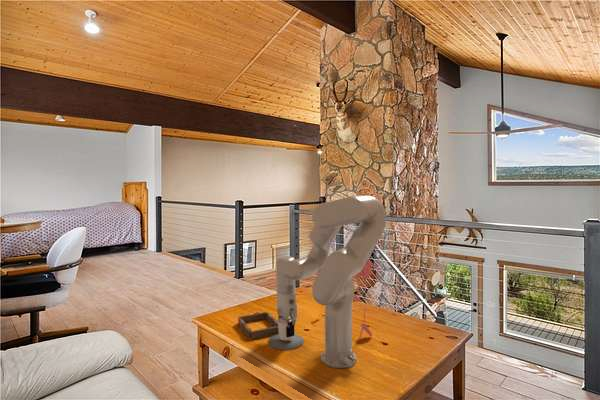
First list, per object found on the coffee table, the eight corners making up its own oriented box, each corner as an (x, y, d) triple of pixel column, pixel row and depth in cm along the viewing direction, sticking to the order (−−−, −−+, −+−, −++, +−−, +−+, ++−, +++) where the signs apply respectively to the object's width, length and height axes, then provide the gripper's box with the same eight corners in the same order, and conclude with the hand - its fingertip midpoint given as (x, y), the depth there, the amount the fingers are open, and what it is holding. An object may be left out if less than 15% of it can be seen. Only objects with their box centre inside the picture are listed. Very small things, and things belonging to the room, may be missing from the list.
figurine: (375, 348, 128) (376, 256, 127) (326, 327, 147) (327, 247, 147) (397, 337, 138) (399, 252, 138) (349, 319, 158) (350, 244, 157)
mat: (309, 345, 131) (309, 344, 131) (276, 353, 125) (276, 352, 125) (294, 331, 143) (294, 330, 143) (263, 338, 137) (263, 337, 137)
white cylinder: (274, 338, 132) (274, 321, 132) (283, 332, 138) (283, 315, 138) (289, 342, 129) (289, 324, 129) (298, 335, 135) (297, 318, 135)
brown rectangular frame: (283, 333, 142) (283, 326, 142) (250, 340, 136) (250, 332, 135) (267, 317, 158) (267, 311, 158) (237, 323, 152) (237, 317, 152)
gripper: (304, 292, 127) (304, 339, 128) (285, 281, 143) (286, 323, 143) (286, 295, 124) (286, 343, 124) (269, 283, 139) (269, 326, 140)
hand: (286, 332), depth 134 cm, fingers closed on white cylinder, 6 cm apart
